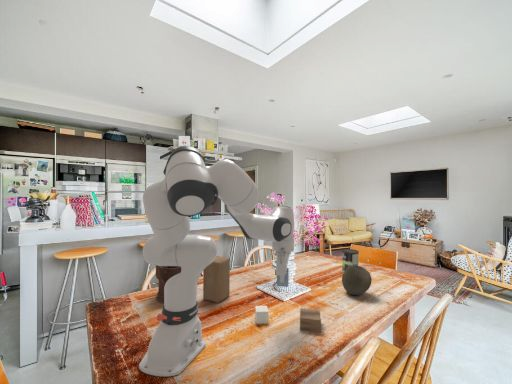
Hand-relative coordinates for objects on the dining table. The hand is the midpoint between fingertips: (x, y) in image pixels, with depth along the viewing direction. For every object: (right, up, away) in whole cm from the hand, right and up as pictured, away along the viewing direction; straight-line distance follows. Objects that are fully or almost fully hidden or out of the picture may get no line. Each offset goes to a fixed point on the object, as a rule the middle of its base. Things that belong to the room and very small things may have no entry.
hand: (282, 279), depth 98 cm
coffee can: (+53, -19, +65) cm, 86 cm away
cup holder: (-54, -18, +24) cm, 61 cm away
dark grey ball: (+42, -19, +30) cm, 55 cm away
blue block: (0, -2, 0) cm, 2 cm away
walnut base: (+11, -19, 0) cm, 22 cm away
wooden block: (-31, -19, +24) cm, 44 cm away
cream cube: (-8, -19, +4) cm, 21 cm away
